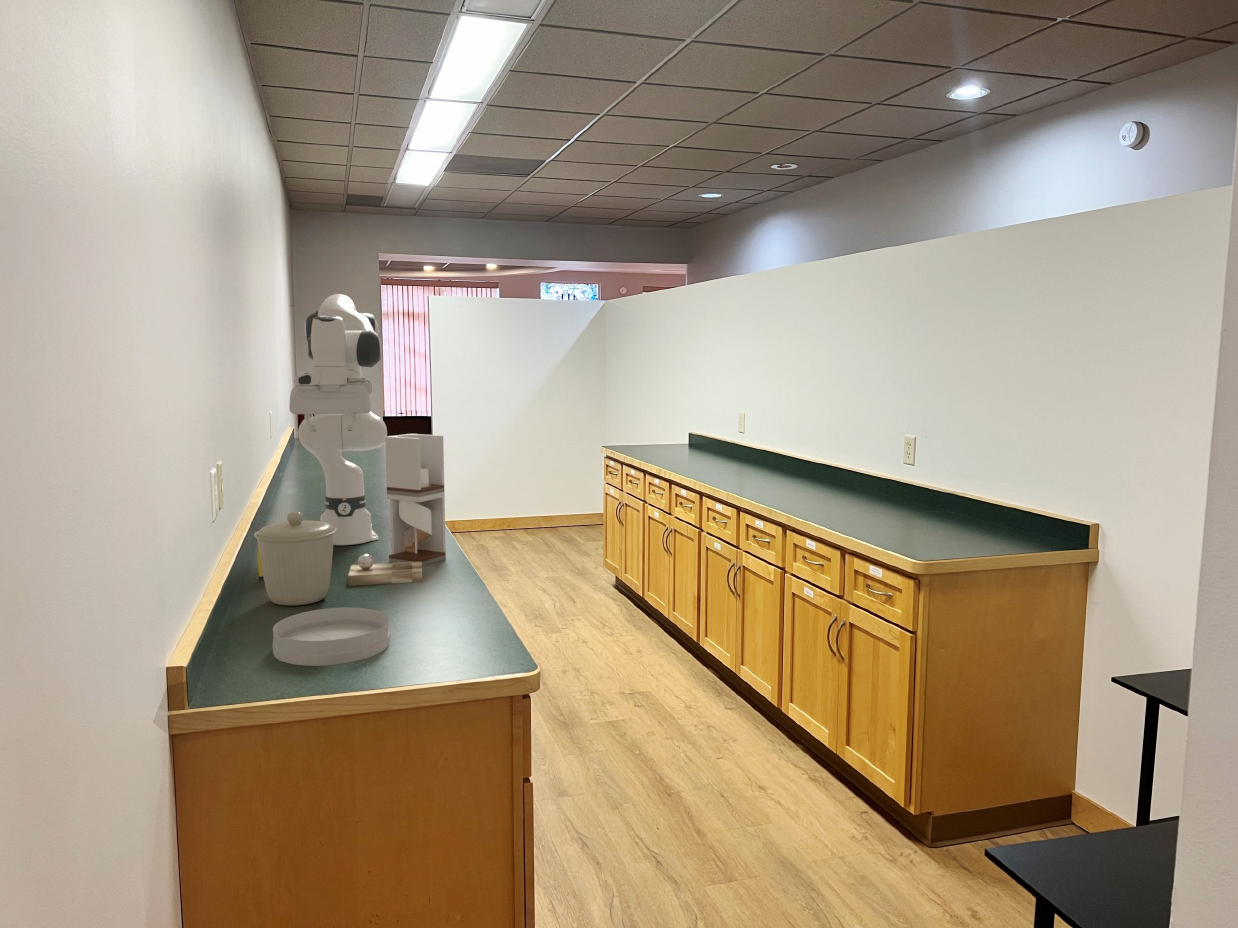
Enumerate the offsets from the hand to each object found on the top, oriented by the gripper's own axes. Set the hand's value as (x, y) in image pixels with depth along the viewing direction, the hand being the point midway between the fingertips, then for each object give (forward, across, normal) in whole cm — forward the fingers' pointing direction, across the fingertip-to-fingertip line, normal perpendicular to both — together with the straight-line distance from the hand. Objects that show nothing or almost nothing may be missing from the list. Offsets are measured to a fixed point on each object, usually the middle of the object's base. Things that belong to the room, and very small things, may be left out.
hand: (331, 431), depth 230 cm
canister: (+38, +6, +26) cm, 47 cm away
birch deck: (+38, -13, +9) cm, 41 cm away
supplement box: (+38, +15, +2) cm, 41 cm away
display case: (+37, -21, -9) cm, 44 cm away
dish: (+40, -4, +62) cm, 74 cm away
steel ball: (+33, -8, +9) cm, 35 cm away
